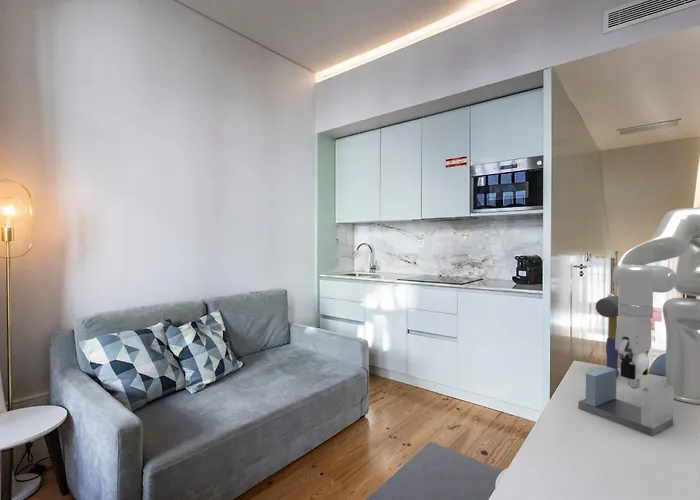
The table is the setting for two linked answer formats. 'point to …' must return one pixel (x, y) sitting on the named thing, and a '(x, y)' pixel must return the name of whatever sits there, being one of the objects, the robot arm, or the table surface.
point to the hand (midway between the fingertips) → (634, 375)
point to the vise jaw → (600, 386)
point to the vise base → (640, 410)
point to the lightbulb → (638, 368)
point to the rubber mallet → (610, 328)
